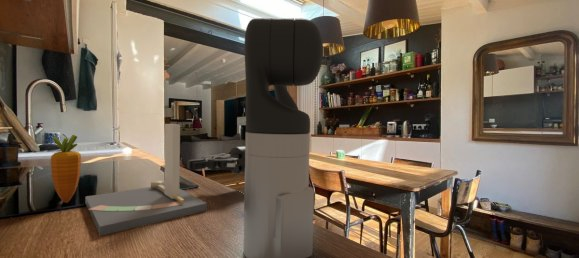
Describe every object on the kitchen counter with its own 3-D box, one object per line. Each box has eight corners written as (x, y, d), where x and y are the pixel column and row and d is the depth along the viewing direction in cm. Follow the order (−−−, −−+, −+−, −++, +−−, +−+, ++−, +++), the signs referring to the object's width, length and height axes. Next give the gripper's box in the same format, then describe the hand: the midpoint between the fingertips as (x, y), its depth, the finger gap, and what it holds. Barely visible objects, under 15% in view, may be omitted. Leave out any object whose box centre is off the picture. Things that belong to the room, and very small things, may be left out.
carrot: (44, 206, 53) (43, 135, 52) (64, 199, 58) (64, 134, 57) (68, 206, 53) (68, 135, 52) (86, 199, 58) (86, 134, 57)
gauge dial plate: (206, 210, 52) (206, 202, 52) (96, 236, 40) (96, 226, 40) (171, 189, 68) (171, 183, 68) (82, 203, 55) (82, 196, 55)
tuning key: (190, 201, 52) (191, 124, 52) (175, 204, 50) (176, 124, 50) (162, 184, 65) (162, 123, 65) (149, 186, 63) (149, 123, 63)
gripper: (236, 144, 77) (178, 147, 65) (263, 148, 67) (200, 152, 55) (236, 168, 77) (177, 176, 65) (262, 175, 67) (200, 186, 55)
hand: (188, 165), depth 60 cm, fingers closed
